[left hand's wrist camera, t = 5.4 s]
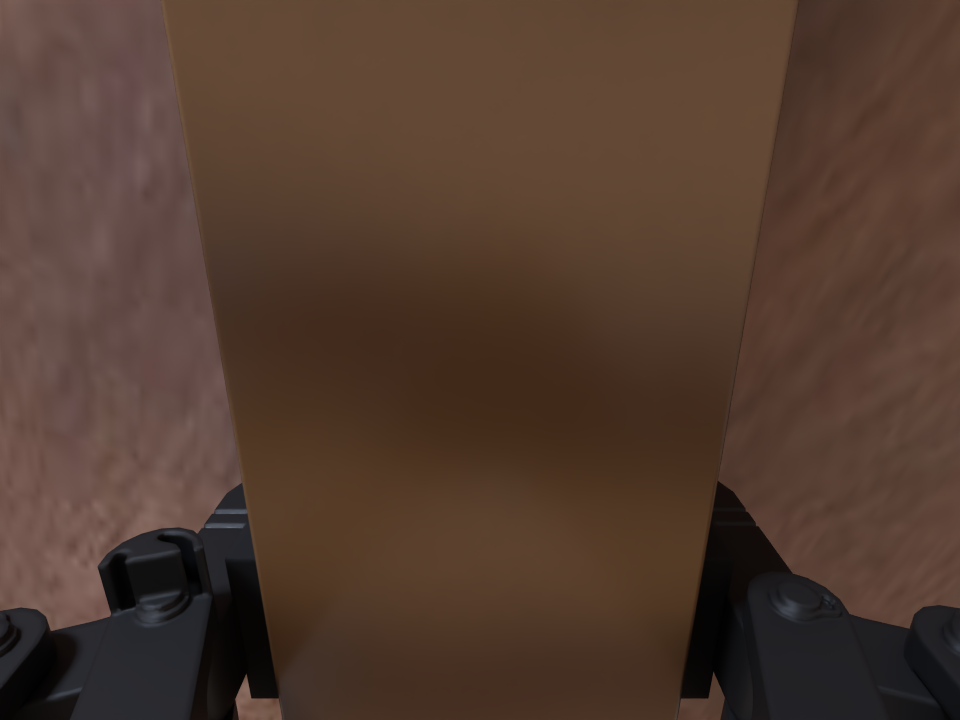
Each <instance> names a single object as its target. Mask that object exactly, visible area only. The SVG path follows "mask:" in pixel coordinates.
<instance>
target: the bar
mask: <svg viewBox="0 0 960 720" xmlns="http://www.w3.org/2000/svg"><path fill="white" fill-rule="evenodd" d="M160 1H161V7H162V13H163V19H164V25H165V30H166V36H167V42H168V48H169V54H170V60H171V66H172V72H173V78H174V83H175V89H176V95H177V101H178V107H179V113H180V119H181V125H182V131H183V136H184V142H185V148H186V154H187V160H188V166H189V172H190V178H191V184H192V189H193V195H194V201H195V207H196V213H197V219H198V225H199V231H200V237H201V243H202V248H203V254H204V260H205V266H206V272H207V278H208V284H209V290H210V296H211V301H212V307H213V313H214V319H215V325H216V331H217V337H218V343H219V349H220V354H221V360H222V366H223V372H224V378H225V384H226V390H227V396H228V402H229V407H230V413H231V419H232V425H233V431H234V437H235V443H236V449H237V455H238V460H239V466H240V472H241V478H242V484H243V490H244V496H245V502H246V508H247V513H248V519H249V525H250V531H251V537H252V543H253V549H254V555H255V561H256V567H257V572H258V578H259V584H260V590H261V596H262V602H263V608H264V614H265V620H266V625H267V631H268V637H269V643H270V649H271V655H272V661H273V667H274V673H275V678H276V684H277V690H278V696H279V702H280V708H281V714H282V720H677V718H678V712H679V706H680V700H681V694H682V688H683V682H684V676H685V671H686V665H687V659H688V653H689V647H690V641H691V635H692V629H693V623H694V618H695V612H696V606H697V600H698V594H699V588H700V582H701V576H702V570H703V564H704V559H705V553H706V547H707V541H708V535H709V529H710V523H711V517H712V511H713V505H714V500H715V494H716V488H717V482H718V476H719V470H720V464H721V458H722V452H723V446H724V441H725V435H726V429H727V423H728V417H729V411H730V405H731V399H732V393H733V387H734V382H735V376H736V370H737V364H738V358H739V352H740V346H741V340H742V334H743V329H744V323H745V317H746V311H747V305H748V299H749V293H750V287H751V281H752V275H753V270H754V264H755V258H756V252H757V246H758V240H759V234H760V228H761V222H762V216H763V211H764V205H765V199H766V193H767V187H768V181H769V175H770V169H771V163H772V157H773V152H774V146H775V140H776V134H777V128H778V122H779V116H780V110H781V104H782V98H783V93H784V87H785V81H786V75H787V69H788V63H789V57H790V51H791V45H792V39H793V34H794V28H795V22H796V16H797V10H798V4H799V0H160Z"/></svg>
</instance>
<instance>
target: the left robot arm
mask: <svg viewBox="0 0 960 720" xmlns="http://www.w3.org/2000/svg"><path fill="white" fill-rule="evenodd" d="M98 570H99V573H100V577H101V580H102V584H103V587H104V590H105V594H106V597H107V601H108V604H109V608H110V611H111V616H110V617H107V618H104V619H101V620H97V621H93V622H89V623H84V624H80V625H76V626H71V627H67V628H63V629H58V630H54V631H51V630H50V627H49V624H48V621H47V619H46V616H44V615H43V614H42V613H41V612H39V611H38V610H36V609H28V608H16V609H10V610H4V611H0V720H239V718H238V711H237V706H236V701H235V698H236V696H237V694H238V691H239V689H240V687H241V685H242V682H243V680H244V678H245V675H246V673H247V678H248V683H249V688H250V694H251V698H279V696H278V690H277V684H276V678H275V673H274V667H273V661H272V655H271V649H270V643H269V637H268V631H267V625H266V620H265V614H264V608H263V602H262V596H261V590H260V584H259V578H258V572H257V567H256V561H255V555H254V549H253V543H252V537H251V531H250V525H249V519H248V513H247V508H246V502H245V496H244V490H243V484H242V483H241V484H240V485H238V486H237V487H235V488H234V489H233V490H231V491H230V492H228V493H227V494H226V495H225V497H224V498H223V499H222V501H221V502H220V504H219V505H218V506H217V508H216V509H215V512H214V514H212V515H211V516H210V517H209V519H208V520H207V522H206V523H205V524H204V528H202V529H201V530H200V531H199V533H198V534H197V533H196V532H194V531H192V530H188V529H183V528H163V529H158V530H154V531H150V532H147V533H143V534H140V535H138V536H136V537H134V538H131V539H129V540H127V541H125V542H123V543H121V544H120V545H119V546H117V547H116V548H115V549H113V550H112V551H111V552H109V553H108V554H107V555H106V556H105V557H104V559H103V560H102V561H101V563H100V564H99V565H98ZM713 671H714V673H715V676H716V678H717V680H718V682H719V685H720V687H721V689H722V692H723V694H724V696H725V701H724V706H723V710H722V715H721V720H960V608H954V607H948V606H941V605H937V606H929V607H923V608H922V609H920V610H919V611H918V612H917V613H915V614H914V617H913V620H912V623H911V626H910V629H908V628H903V627H899V626H895V625H890V624H886V623H882V622H877V621H873V620H869V619H864V618H861V617H857V616H854V615H851V614H849V613H848V611H847V610H846V608H845V607H844V605H843V604H842V602H841V600H840V599H839V598H837V597H836V596H835V595H834V594H833V593H831V592H830V591H829V590H828V589H827V588H825V587H823V586H822V585H820V584H818V583H816V582H814V581H812V580H810V579H808V578H806V577H802V576H799V575H795V574H793V573H792V572H791V571H790V569H789V568H788V566H787V565H786V564H785V562H784V561H783V560H782V558H781V557H780V555H779V554H778V553H777V551H776V550H775V549H774V547H773V546H772V544H771V543H770V542H769V540H768V539H767V538H766V536H765V535H764V533H763V532H762V531H761V529H760V528H759V527H758V526H756V522H755V521H754V520H753V518H752V517H751V516H750V514H749V513H748V512H746V510H745V507H744V506H743V505H742V503H741V502H740V500H739V499H738V498H737V496H736V495H735V494H734V492H733V491H731V490H730V489H728V488H727V487H726V486H724V485H723V484H721V483H720V482H717V488H716V494H715V500H714V505H713V511H712V517H711V523H710V529H709V535H708V541H707V547H706V553H705V559H704V564H703V570H702V576H701V582H700V588H699V594H698V600H697V606H696V612H695V618H694V623H693V629H692V635H691V641H690V647H689V653H688V659H687V665H686V671H685V676H684V682H683V688H682V694H681V698H708V697H709V692H710V686H711V681H712V676H713Z"/></svg>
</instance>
